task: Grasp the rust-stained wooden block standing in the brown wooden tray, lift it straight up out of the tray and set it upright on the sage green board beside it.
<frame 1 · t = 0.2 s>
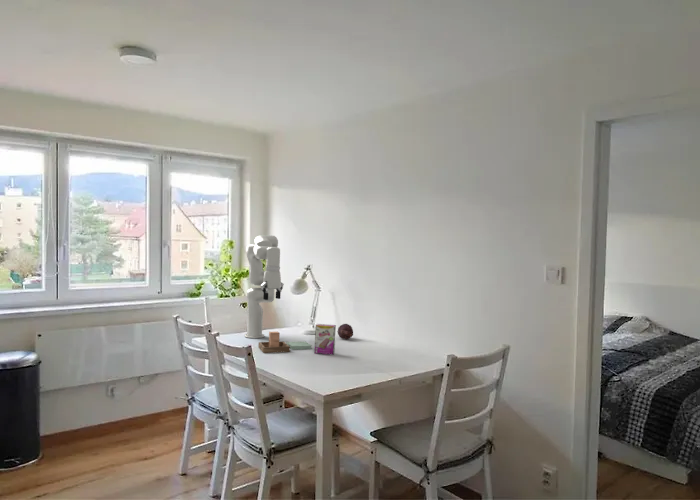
hand: (271, 299, 297), 30 cm above the table, tool pointing down, fingers open, 9 cm apart
green board: (298, 347, 312), on the table
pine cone: (344, 339, 342), on the table
wooden block: (274, 341, 302), in the brown wooden tray
candy bar box: (324, 353, 297), on the table
brown wooden tray: (273, 349, 302), on the table
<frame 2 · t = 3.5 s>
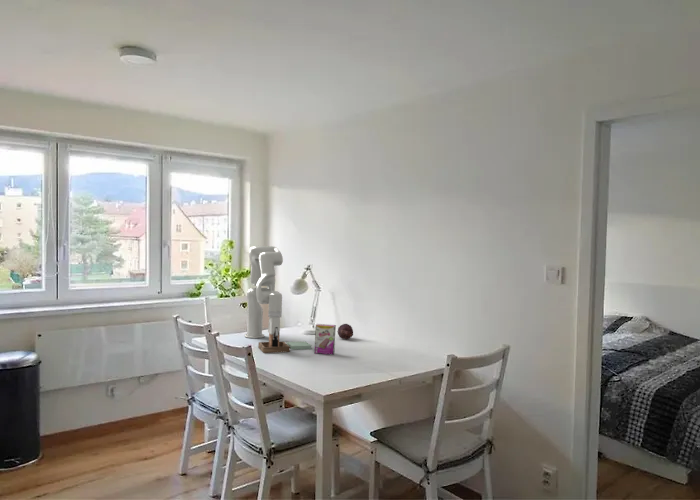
hand: (273, 345, 302), 2 cm above the table, tool pointing down, fingers closed on wooden block, 5 cm apart
wooden block: (274, 341, 302), in the brown wooden tray, touching gripper
everything else where it was.
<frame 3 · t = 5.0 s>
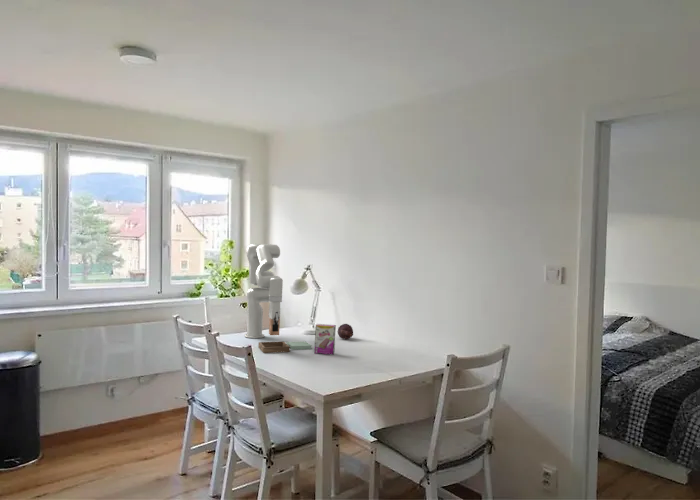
hand: (274, 330, 302), 11 cm above the table, tool pointing down, fingers closed on wooden block, 5 cm apart
wooden block: (274, 325, 302), point 14 cm above the table, touching gripper
everything else where it was.
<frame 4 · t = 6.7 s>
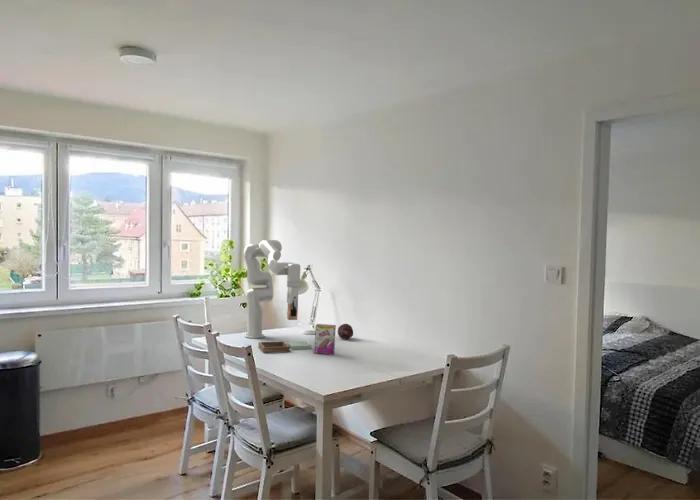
hand: (292, 315, 308), 19 cm above the table, tool pointing down, fingers closed on wooden block, 5 cm apart
wooden block: (292, 310, 308), point 22 cm above the table, touching gripper
everything else where it was.
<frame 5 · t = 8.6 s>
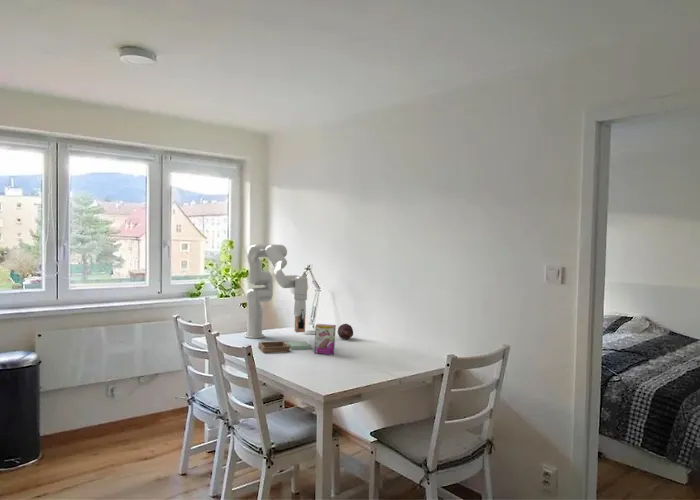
hand: (299, 327, 311), 12 cm above the table, tool pointing down, fingers closed on wooden block, 5 cm apart
wooden block: (299, 323, 311), point 14 cm above the table, touching gripper
everything else where it was.
when the fingers open (5 cm above the table, at t = 10.2 s): wooden block stays where it is, resting on green board.
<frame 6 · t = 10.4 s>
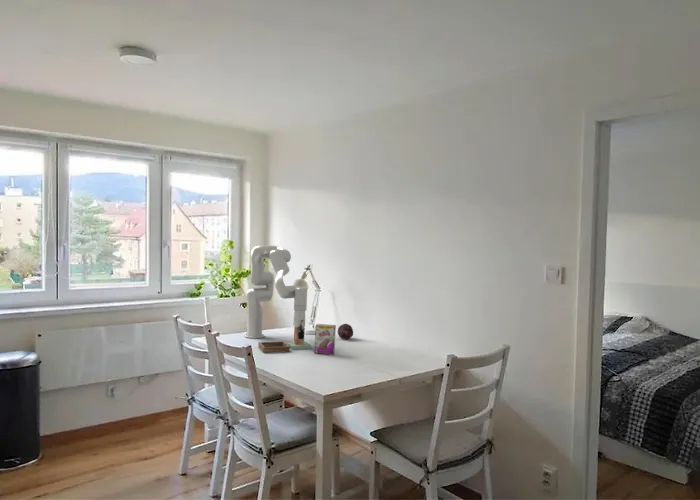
hand: (299, 337, 311), 6 cm above the table, tool pointing down, fingers open, 7 cm apart
wooden block: (299, 335, 311), on the green board, point 7 cm above the table
everything else where it was.
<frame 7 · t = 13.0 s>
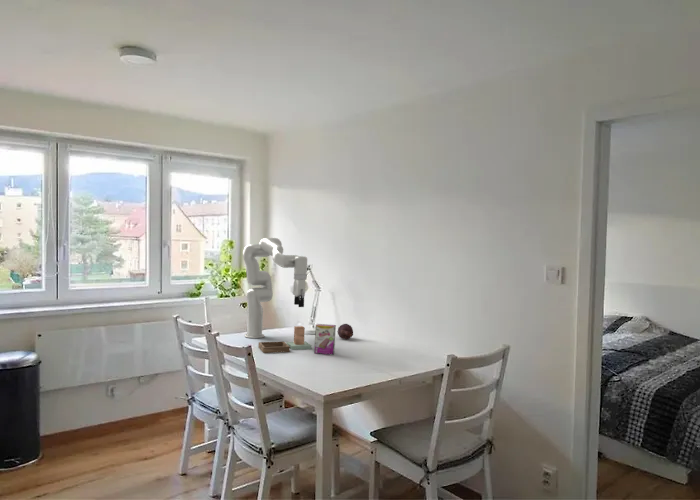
hand: (298, 305, 311), 25 cm above the table, tool pointing down, fingers open, 9 cm apart
nothing on the table moved.
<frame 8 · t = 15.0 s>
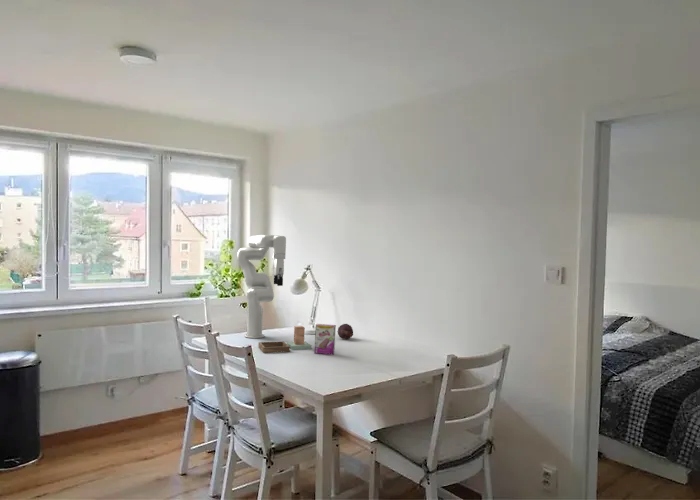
hand: (278, 284, 314), 36 cm above the table, tool pointing down, fingers open, 9 cm apart
nothing on the table moved.
at the end: wooden block inside the target area on the green board (0.1 cm from its centre), point 7.0 cm above the green board's base; wooden block tilted 0°; the gripper is holding nothing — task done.
